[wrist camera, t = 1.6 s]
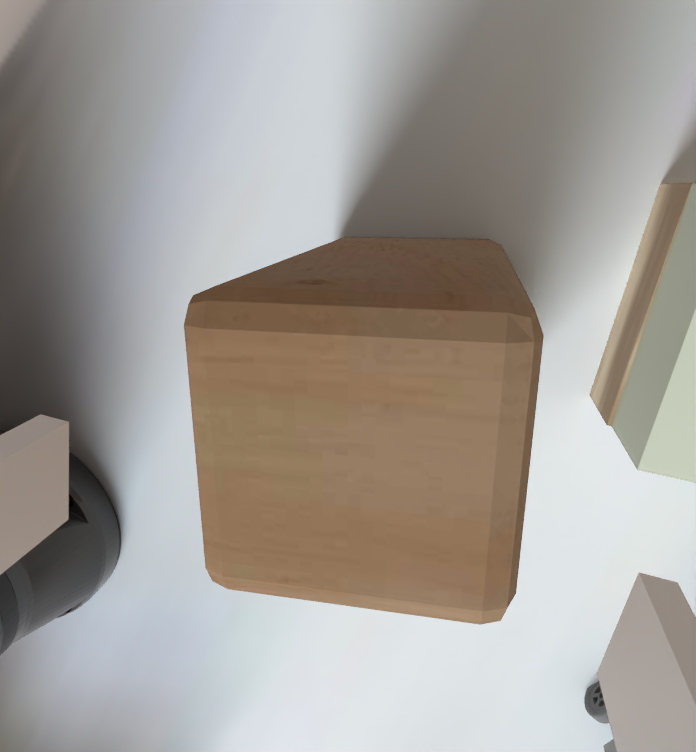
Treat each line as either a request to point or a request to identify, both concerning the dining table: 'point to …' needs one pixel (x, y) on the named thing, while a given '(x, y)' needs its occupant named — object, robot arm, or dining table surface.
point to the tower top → (666, 368)
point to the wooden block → (368, 425)
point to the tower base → (638, 298)
